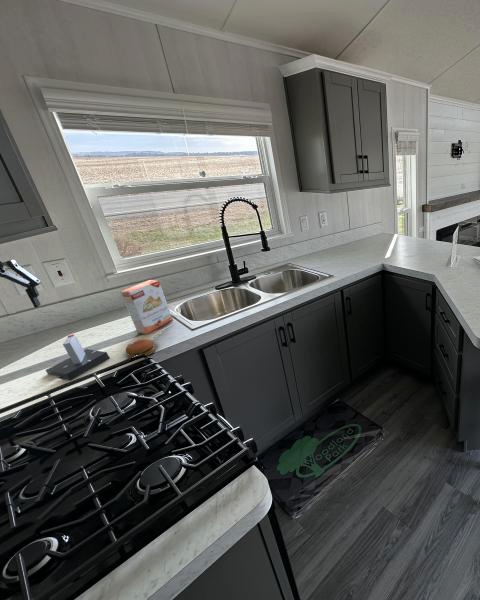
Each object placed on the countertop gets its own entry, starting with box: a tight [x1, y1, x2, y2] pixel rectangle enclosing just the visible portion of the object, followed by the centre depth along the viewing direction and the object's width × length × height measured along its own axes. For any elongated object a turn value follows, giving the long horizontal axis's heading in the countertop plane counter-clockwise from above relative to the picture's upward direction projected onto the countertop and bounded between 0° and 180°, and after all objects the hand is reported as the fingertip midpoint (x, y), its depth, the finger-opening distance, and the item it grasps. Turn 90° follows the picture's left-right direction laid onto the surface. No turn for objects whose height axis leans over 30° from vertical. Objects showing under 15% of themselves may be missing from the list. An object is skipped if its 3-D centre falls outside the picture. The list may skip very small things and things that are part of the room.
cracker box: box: [119, 279, 174, 335], centre depth 149 cm, size 14×6×21 cm, turn 165°
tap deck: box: [45, 348, 111, 382], centre depth 125 cm, size 14×11×3 cm
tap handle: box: [62, 334, 85, 365], centre depth 123 cm, size 7×2×9 cm, turn 30°
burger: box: [125, 338, 157, 359], centre depth 132 cm, size 10×9×5 cm
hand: (10, 311), depth 108 cm, fingers open, 13 cm apart
